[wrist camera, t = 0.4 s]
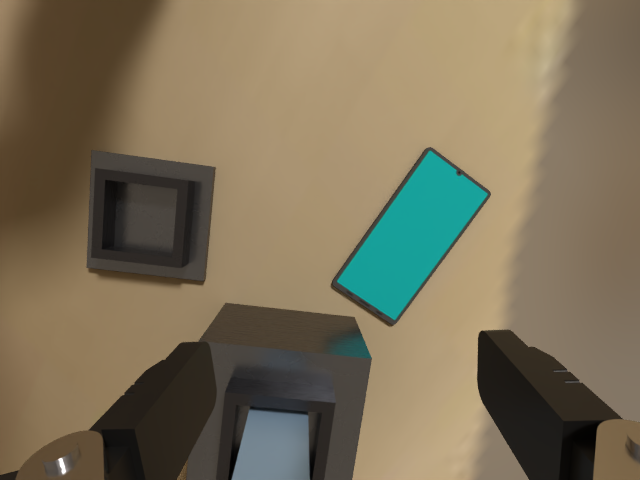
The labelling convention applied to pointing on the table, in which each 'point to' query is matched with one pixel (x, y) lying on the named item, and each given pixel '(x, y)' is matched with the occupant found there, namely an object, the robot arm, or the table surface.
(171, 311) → the table surface
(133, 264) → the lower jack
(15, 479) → the robot arm
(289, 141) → the table surface
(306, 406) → the box with square opening
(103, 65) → the table surface
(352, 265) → the smartphone
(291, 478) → the plug
